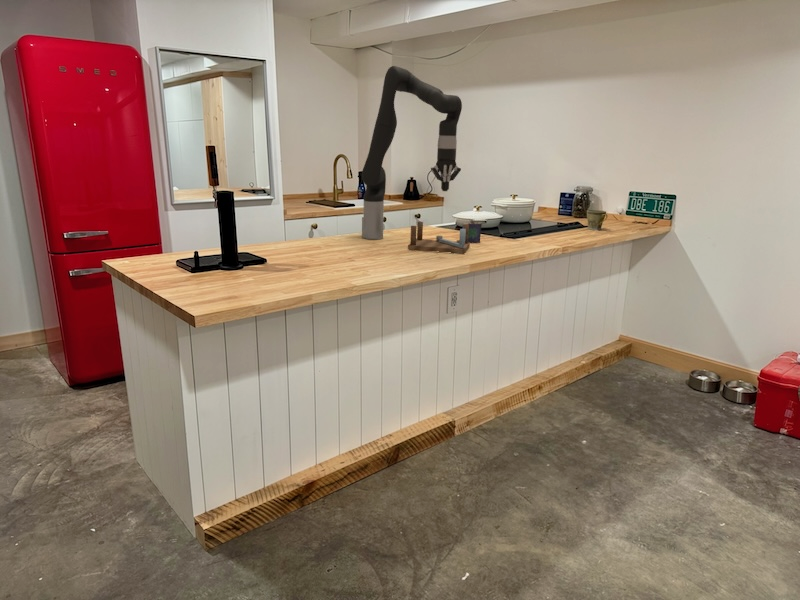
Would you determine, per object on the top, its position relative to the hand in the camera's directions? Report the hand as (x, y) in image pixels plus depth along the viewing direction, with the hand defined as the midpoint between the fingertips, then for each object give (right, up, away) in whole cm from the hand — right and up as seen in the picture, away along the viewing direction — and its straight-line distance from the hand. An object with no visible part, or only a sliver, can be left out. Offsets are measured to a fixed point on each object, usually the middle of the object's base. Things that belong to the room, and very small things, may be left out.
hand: (444, 191), depth 231 cm
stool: (-2, -23, +11) cm, 25 cm away
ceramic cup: (+87, -8, +70) cm, 112 cm away
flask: (+14, -19, +26) cm, 35 cm away
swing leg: (+3, -21, +9) cm, 23 cm away
